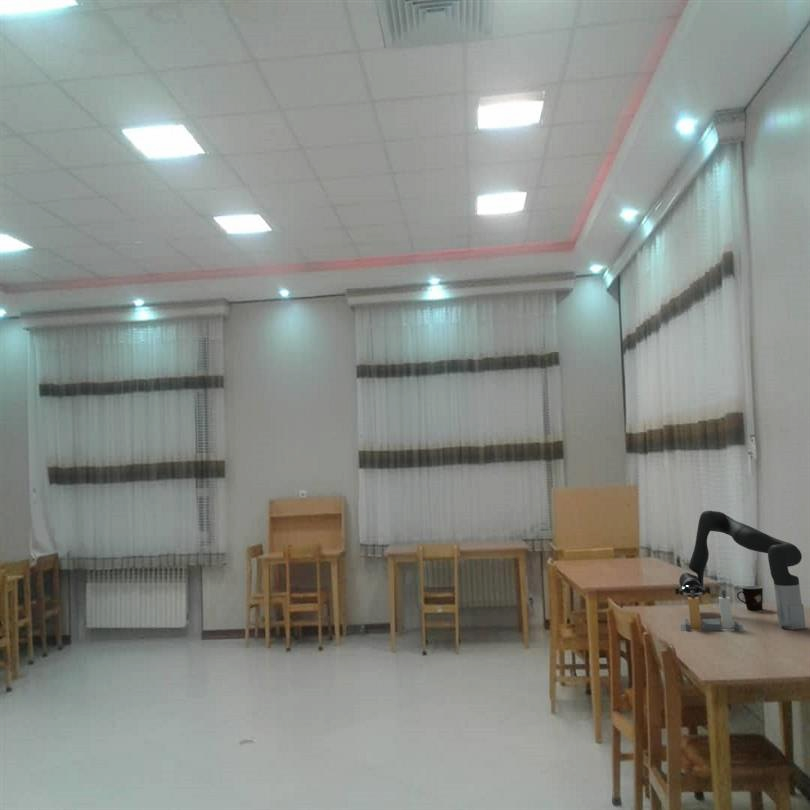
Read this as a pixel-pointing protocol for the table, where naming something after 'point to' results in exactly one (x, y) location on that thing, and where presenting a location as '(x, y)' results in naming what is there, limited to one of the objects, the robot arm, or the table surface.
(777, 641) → the table surface
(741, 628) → the cable rack
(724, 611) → the white bottle
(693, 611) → the orange plug
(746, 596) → the coffee mug
